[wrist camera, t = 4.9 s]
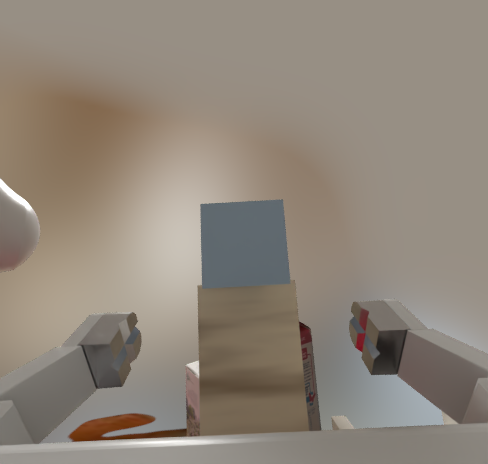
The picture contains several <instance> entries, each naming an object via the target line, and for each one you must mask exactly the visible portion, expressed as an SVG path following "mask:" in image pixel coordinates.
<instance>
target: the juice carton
mask: <svg viewBox="0 0 488 464" xmlns="http://www.w3.org/2000/svg"><path fill="white" fill-rule="evenodd" d="M299 329H300V340H301V351H302V361H303V372H304V383H305V393H306V404H307V415H308V425H309V431H321V424H320V413H319V405H318V394H317V385H316V375H315V365H314V356H313V346H312V337H311V329H310V328H309V327H308V326H306V325H304V324H303V323H301V322H299Z"/></svg>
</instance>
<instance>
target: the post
mask: <svg viewBox="0 0 488 464" xmlns="http://www.w3.org/2000/svg"><path fill="white" fill-rule="evenodd" d="M198 330H199V331H198V332H199V390H200V436H214V435H236V434H257V433H279V432H300V431H309V425H308V415H307V404H306V393H305V383H304V372H303V361H302V351H301V340H300V329H299V319H298V309H297V297H296V286H295V280H290V284H278V285H260V286H242V287H224V288H206V289H202V285H198Z"/></svg>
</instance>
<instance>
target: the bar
mask: <svg viewBox="0 0 488 464" xmlns="http://www.w3.org/2000/svg"><path fill="white" fill-rule="evenodd" d="M201 250H202V251H201V252H202V289H206V288H224V287H242V286H260V285H278V284H290V274H289V262H288V252H287V241H286V229H285V218H284V207H283V200H266V201H248V202H230V203H214V204H213V203H212V204H201Z"/></svg>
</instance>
